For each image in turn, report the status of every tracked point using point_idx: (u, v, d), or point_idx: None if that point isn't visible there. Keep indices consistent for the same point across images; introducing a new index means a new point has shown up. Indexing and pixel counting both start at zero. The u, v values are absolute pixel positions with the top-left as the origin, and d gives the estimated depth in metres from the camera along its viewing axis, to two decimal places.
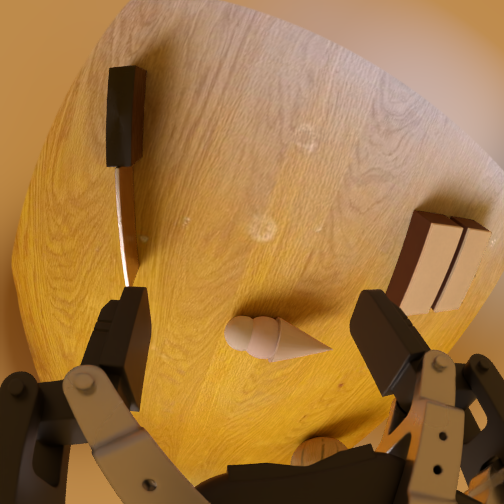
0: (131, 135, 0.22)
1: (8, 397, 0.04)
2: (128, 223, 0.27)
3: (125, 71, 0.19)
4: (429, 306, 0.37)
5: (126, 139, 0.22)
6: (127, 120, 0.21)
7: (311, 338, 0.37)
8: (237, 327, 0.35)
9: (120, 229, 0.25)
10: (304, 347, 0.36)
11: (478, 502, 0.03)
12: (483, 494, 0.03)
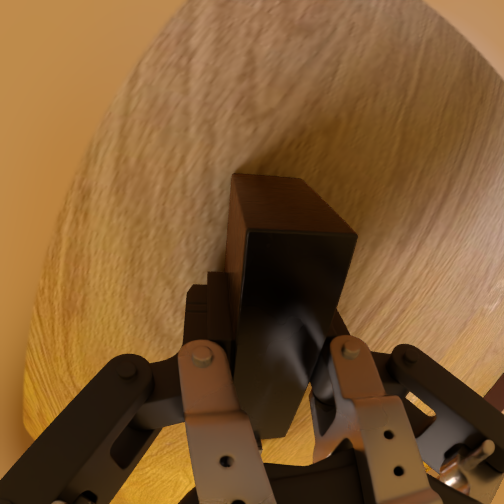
0: (299, 403, 0.09)
1: (113, 376, 0.06)
2: None
3: (318, 253, 0.06)
4: None
5: (286, 410, 0.09)
6: (298, 382, 0.08)
7: None
8: None
9: None
10: None
11: (478, 502, 0.03)
12: (462, 483, 0.04)
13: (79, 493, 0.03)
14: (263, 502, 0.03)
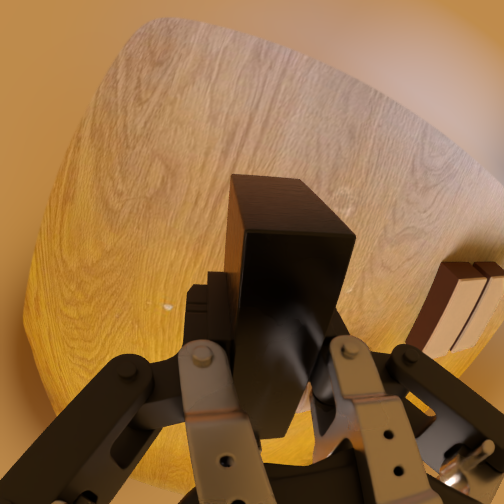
0: (298, 403, 0.09)
1: (113, 376, 0.06)
2: None
3: (317, 253, 0.06)
4: (448, 349, 0.35)
5: (285, 410, 0.09)
6: (296, 382, 0.08)
7: None
8: None
9: None
10: None
11: (478, 502, 0.03)
12: (462, 483, 0.04)
13: (79, 493, 0.03)
14: (263, 501, 0.03)
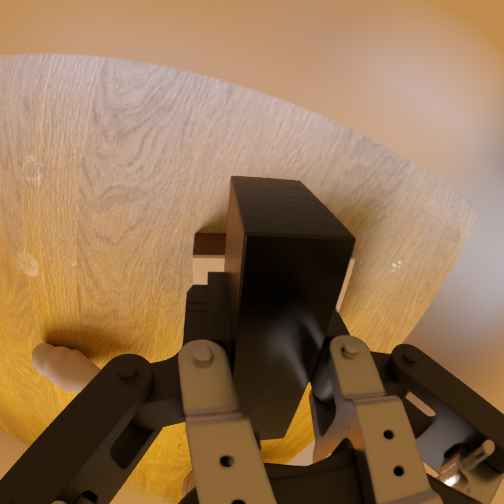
0: (298, 404, 0.09)
1: (113, 376, 0.06)
2: None
3: (316, 256, 0.06)
4: None
5: (285, 411, 0.09)
6: (296, 384, 0.08)
7: None
8: (34, 353, 0.28)
9: None
10: None
11: (478, 502, 0.03)
12: (462, 483, 0.04)
13: (79, 493, 0.03)
14: (263, 501, 0.03)
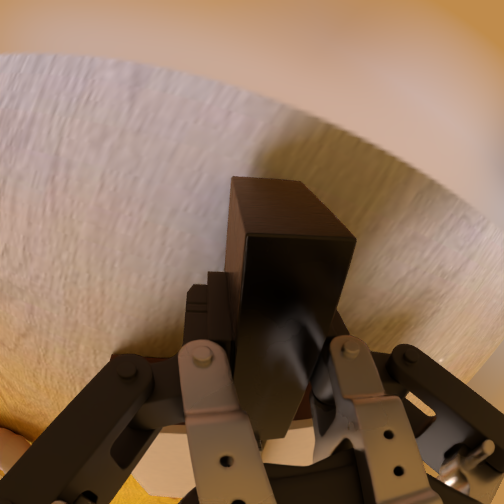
0: (299, 404, 0.09)
1: (113, 376, 0.06)
2: None
3: (317, 256, 0.06)
4: None
5: (285, 411, 0.09)
6: (297, 384, 0.08)
7: None
8: None
9: None
10: None
11: (478, 502, 0.03)
12: (462, 483, 0.04)
13: (79, 493, 0.03)
14: (263, 501, 0.03)
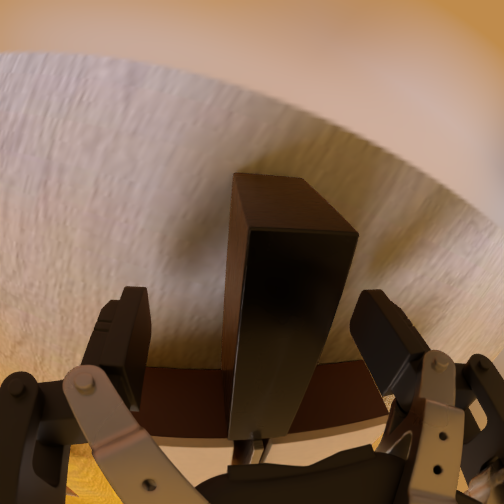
0: None
1: (8, 397, 0.04)
2: None
3: (319, 252, 0.06)
4: None
5: (287, 409, 0.09)
6: (299, 381, 0.08)
7: None
8: None
9: None
10: None
11: (478, 502, 0.03)
12: (484, 494, 0.03)
13: None
14: None
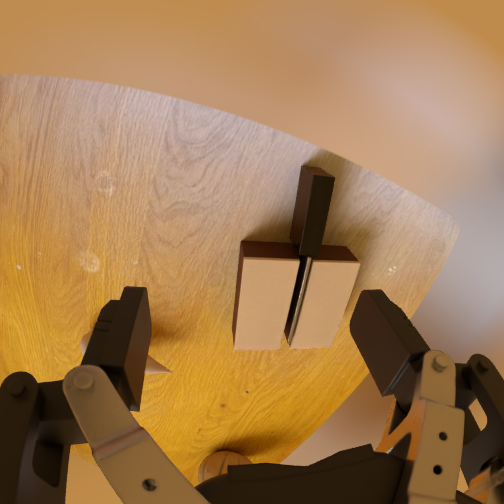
0: (323, 233, 0.31)
1: (8, 397, 0.04)
2: None
3: (326, 180, 0.28)
4: (278, 343, 0.38)
5: (319, 235, 0.31)
6: (323, 221, 0.31)
7: (148, 359, 0.38)
8: (84, 340, 0.36)
9: (300, 300, 0.34)
10: None
11: (478, 502, 0.03)
12: (483, 494, 0.03)
13: None
14: None
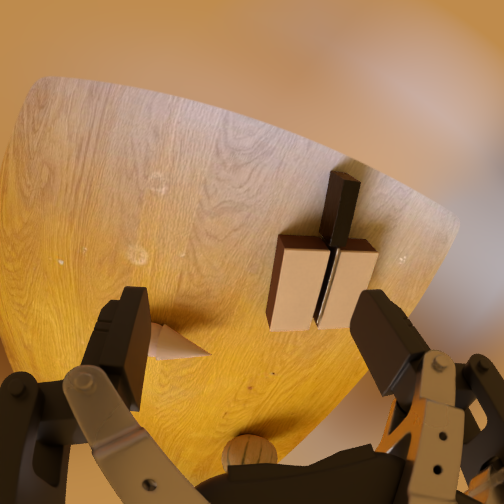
0: None
1: (8, 397, 0.04)
2: None
3: (354, 184, 0.34)
4: (308, 324, 0.44)
5: (347, 230, 0.37)
6: (350, 218, 0.36)
7: (190, 343, 0.44)
8: None
9: (329, 285, 0.40)
10: (181, 350, 0.43)
11: (478, 502, 0.03)
12: (484, 494, 0.03)
13: None
14: None
